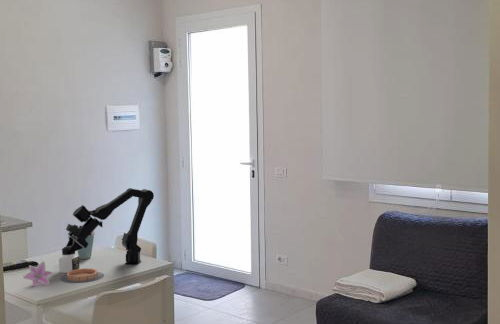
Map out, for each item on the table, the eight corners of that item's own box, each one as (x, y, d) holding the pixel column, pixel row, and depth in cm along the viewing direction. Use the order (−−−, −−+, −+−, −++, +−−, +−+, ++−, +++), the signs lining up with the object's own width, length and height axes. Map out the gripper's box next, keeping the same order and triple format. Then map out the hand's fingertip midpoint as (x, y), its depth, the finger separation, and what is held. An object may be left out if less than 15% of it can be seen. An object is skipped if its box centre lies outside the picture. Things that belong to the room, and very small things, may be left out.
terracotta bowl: (102, 273, 287) (102, 269, 287) (89, 281, 273) (89, 277, 273) (75, 272, 289) (75, 267, 289) (61, 280, 275) (61, 275, 275)
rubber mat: (110, 272, 289) (110, 272, 289) (93, 284, 270) (93, 283, 270) (72, 271, 293) (72, 270, 293) (52, 282, 273) (52, 281, 273)
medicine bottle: (72, 273, 288) (71, 248, 287) (59, 272, 289) (57, 248, 288) (79, 269, 295) (78, 245, 294) (66, 269, 296) (65, 245, 295)
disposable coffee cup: (70, 258, 318) (69, 231, 317) (86, 254, 328) (85, 227, 326) (84, 261, 313) (83, 233, 312) (99, 256, 322) (99, 229, 321)
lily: (19, 290, 266) (22, 274, 262) (26, 273, 276) (30, 257, 272) (45, 296, 268) (50, 280, 264) (52, 279, 278) (56, 264, 274)
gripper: (71, 215, 300) (49, 238, 295) (80, 221, 284) (57, 246, 279) (87, 228, 304) (66, 252, 300) (97, 235, 288) (75, 260, 284)
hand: (65, 252), depth 290 cm, fingers closed on medicine bottle, 6 cm apart
